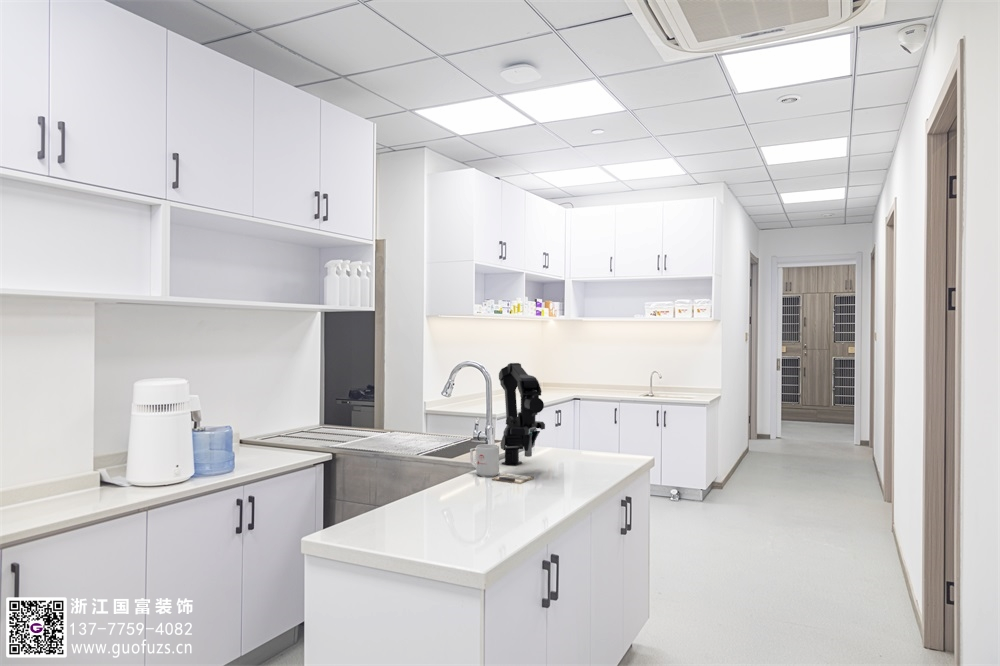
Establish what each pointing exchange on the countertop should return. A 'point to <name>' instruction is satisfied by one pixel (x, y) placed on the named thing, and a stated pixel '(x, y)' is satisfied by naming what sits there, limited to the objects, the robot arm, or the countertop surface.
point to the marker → (529, 449)
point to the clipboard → (513, 478)
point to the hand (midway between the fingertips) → (528, 450)
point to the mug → (486, 460)
